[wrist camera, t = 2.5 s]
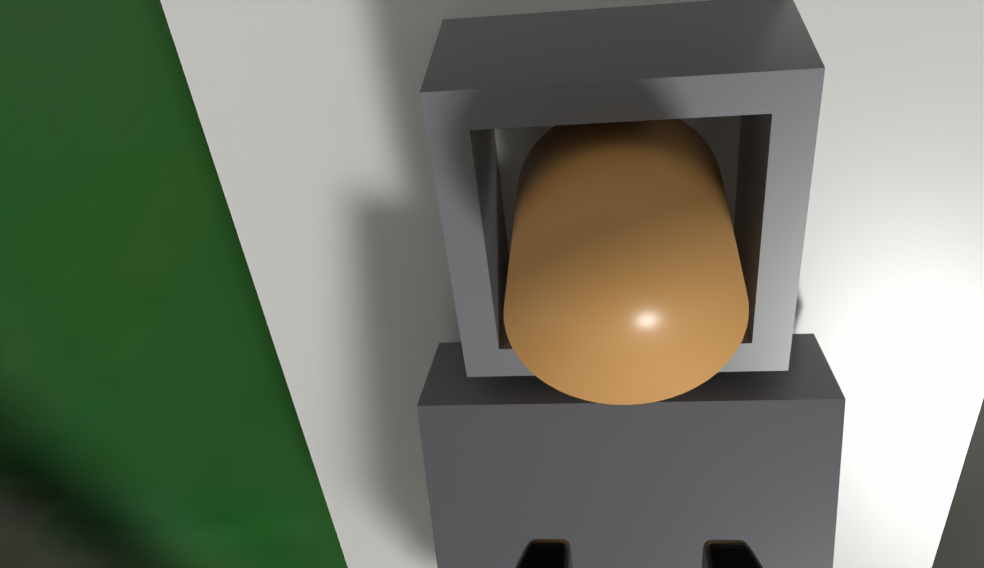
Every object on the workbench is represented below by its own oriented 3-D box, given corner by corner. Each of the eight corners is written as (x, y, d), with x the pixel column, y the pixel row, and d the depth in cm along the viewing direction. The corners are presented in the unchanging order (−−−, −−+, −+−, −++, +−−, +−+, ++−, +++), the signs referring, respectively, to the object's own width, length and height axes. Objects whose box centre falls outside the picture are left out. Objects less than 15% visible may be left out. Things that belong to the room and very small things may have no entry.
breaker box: (863, 547, 27) (926, 772, 22) (402, 545, 29) (362, 753, 24) (1031, -196, 15) (1252, -76, 10) (225, -121, 17) (71, 14, 12)
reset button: (718, 273, 15) (741, 402, 13) (525, 279, 16) (514, 406, 13) (727, 98, 13) (757, 212, 11) (508, 111, 14) (491, 224, 11)
